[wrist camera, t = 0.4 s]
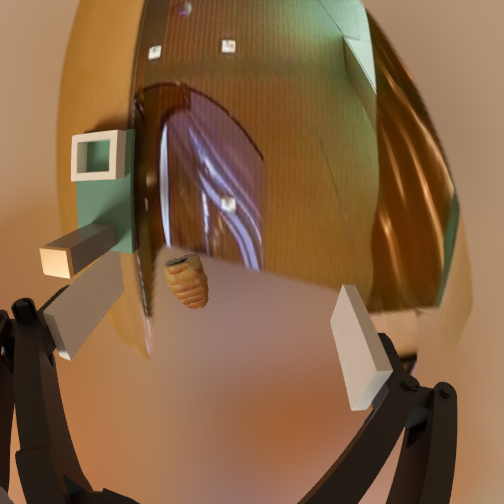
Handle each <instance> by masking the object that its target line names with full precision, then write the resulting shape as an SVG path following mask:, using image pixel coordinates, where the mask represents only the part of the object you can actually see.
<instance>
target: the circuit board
mask: <svg viewBox="0 0 504 504" xmlns="http://www.w3.org/2000/svg"><path fill="white" fill-rule="evenodd" d="M121 131H126V145H125V170H124V178H120V179H111V180H86V181H76V183H77V211H78V226H79V228H82V227H84V226H86V225H88V224H90V223H104V224H115V230H116V244H117V245H116V246H114V247H113V248H112V249H110V250H111V251H117V252H125V253H133V252H134V251H135V237H134V207H133V179H134V150H135V133H136V130H135V129H127V130H121ZM109 154H110V140H107V141H97V142H89V143H87V172H97V171H109Z"/></svg>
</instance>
